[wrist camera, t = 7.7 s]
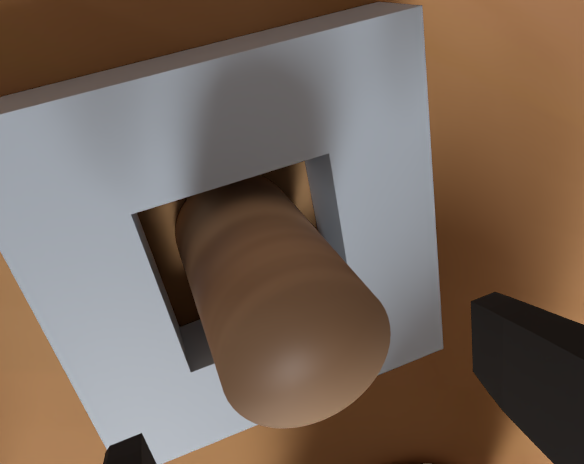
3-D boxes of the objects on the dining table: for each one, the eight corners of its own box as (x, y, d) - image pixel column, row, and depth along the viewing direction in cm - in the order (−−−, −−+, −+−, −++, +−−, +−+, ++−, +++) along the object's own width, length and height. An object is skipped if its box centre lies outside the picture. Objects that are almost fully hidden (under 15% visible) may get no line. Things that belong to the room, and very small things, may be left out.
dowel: (302, 258, 19) (399, 387, 13) (195, 297, 18) (246, 453, 12) (279, 156, 17) (379, 252, 11) (158, 195, 16) (196, 321, 10)
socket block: (409, 312, 22) (443, 348, 20) (119, 424, 19) (123, 479, 17) (378, 1, 16) (422, 5, 14) (-40, 106, 14) (-64, 131, 11)
